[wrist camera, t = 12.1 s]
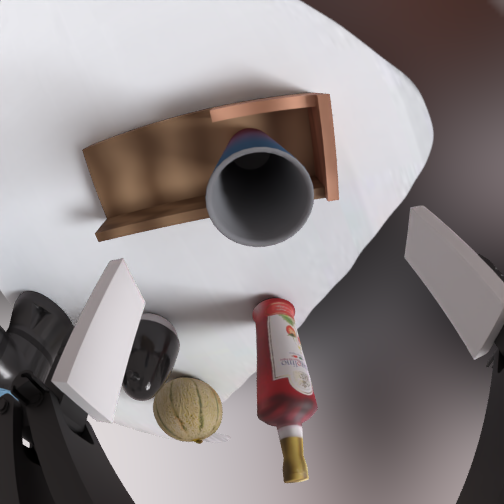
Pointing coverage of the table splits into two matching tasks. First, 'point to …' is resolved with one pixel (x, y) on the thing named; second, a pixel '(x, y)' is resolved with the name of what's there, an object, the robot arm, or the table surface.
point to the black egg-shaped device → (150, 357)
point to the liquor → (283, 382)
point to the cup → (258, 191)
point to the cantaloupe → (188, 409)
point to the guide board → (202, 159)
